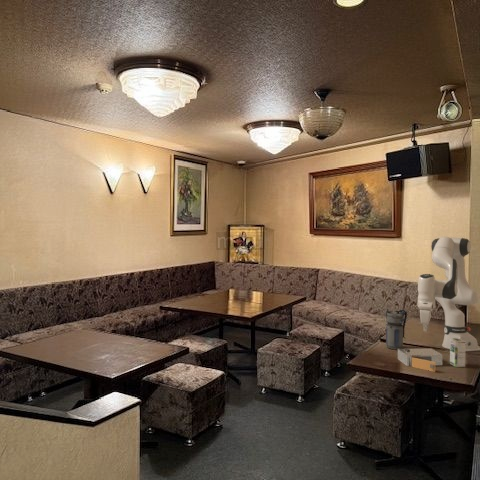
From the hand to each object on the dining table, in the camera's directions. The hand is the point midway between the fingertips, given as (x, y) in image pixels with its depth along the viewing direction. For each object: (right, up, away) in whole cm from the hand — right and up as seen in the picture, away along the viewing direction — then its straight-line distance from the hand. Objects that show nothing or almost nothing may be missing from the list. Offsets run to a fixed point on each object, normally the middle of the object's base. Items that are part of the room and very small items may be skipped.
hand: (425, 329), depth 222 cm
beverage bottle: (-2, -20, +36) cm, 42 cm away
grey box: (0, -21, +8) cm, 22 cm away
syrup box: (+19, -21, +3) cm, 28 cm away
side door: (-4, -21, -3) cm, 21 cm away
